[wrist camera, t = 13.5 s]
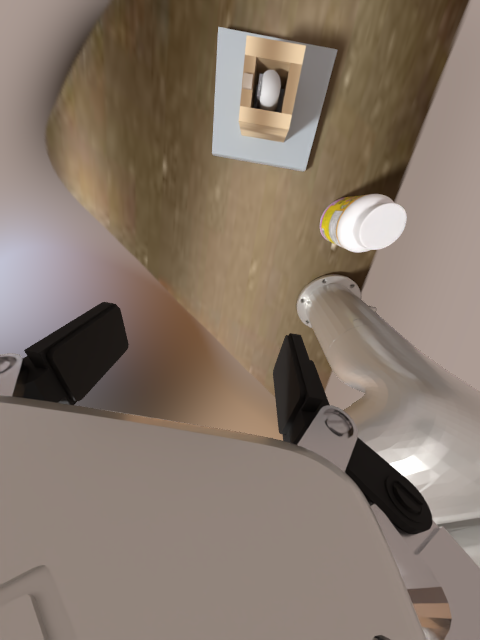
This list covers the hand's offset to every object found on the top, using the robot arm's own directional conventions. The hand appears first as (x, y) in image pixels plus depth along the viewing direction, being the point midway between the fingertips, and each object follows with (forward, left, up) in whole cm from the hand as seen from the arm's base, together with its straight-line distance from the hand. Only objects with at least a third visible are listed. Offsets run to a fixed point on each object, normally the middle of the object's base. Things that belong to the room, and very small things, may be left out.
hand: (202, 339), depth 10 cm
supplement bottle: (-16, -7, -28) cm, 33 cm away
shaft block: (-1, -18, -28) cm, 34 cm away
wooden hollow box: (-1, -18, -27) cm, 33 cm away
